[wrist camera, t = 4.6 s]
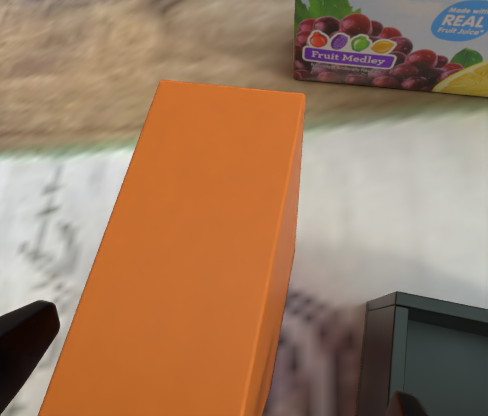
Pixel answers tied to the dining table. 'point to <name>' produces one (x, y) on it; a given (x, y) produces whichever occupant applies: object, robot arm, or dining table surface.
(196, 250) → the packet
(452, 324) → the black square tray
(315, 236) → the dining table surface
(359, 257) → the dining table surface
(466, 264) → the dining table surface
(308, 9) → the snack box
